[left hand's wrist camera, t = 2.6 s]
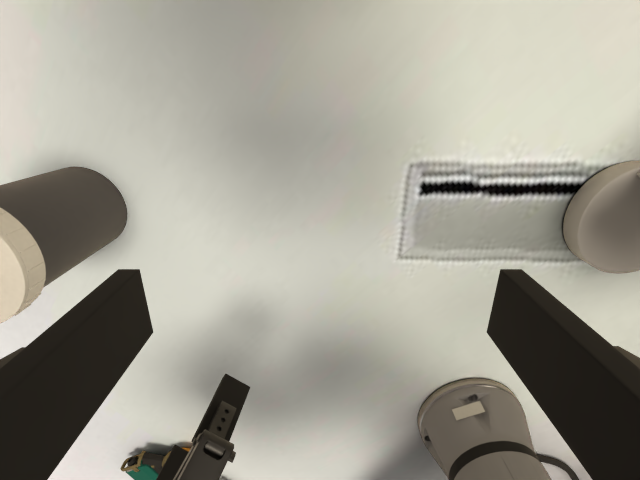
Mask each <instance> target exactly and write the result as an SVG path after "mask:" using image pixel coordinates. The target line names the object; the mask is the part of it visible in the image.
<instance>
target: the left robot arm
mask: <svg viewBox="0 0 640 480" xmlns="http://www.w3.org/2000/svg"><path fill="white" fill-rule="evenodd" d="M152 333H153V329H152V324H151V320H150V315H149V311H148V306H147V301H146V297H145V292H144V288H143V283H142V279H141V274H140V269H118V270H117V271H116V272H115V273H114V274H112V275H111V276H110V277H109V278H108V279H107V280H105V281H104V282H103V283H102V284H101V285H99V286H98V287H97V288H96V289H95V290H93V291H92V292H91V293H90V294H89V295H87V296H86V297H85V298H84V299H83V300H82V301H80V302H79V303H78V304H77V305H76V306H74V307H73V308H72V309H71V310H70V311H68V312H67V313H66V314H65V315H64V316H62V317H61V318H60V319H59V320H58V321H57V322H55V323H54V324H53V325H52V326H51V327H49V328H48V329H47V330H46V331H45V332H43V333H42V334H41V335H40V336H39V337H37V338H36V339H35V340H34V341H33V342H32V343H30V344H29V345H28V346H27V347H26V348H20V349H18V350H17V351H15V352H13V353H11V354H9V355H8V356H6V357H4V358H2V359H0V480H47V479H48V478H49V476H50V475H51V474H52V472H53V471H54V470H55V468H56V467H57V465H58V464H59V463H60V461H61V460H62V458H63V457H64V456H65V454H66V453H67V451H68V450H69V449H70V447H71V446H72V444H73V443H74V442H75V440H76V439H77V438H78V436H79V435H80V433H81V432H82V431H83V429H84V428H85V426H86V425H87V424H88V422H89V421H90V419H91V418H92V417H93V415H94V414H95V412H96V411H97V410H98V408H99V407H100V406H101V404H102V403H103V401H104V400H105V399H106V397H107V396H108V394H109V393H110V392H111V390H112V389H113V387H114V386H115V385H116V383H117V382H118V380H119V379H120V378H121V376H122V375H123V374H124V372H125V371H126V369H127V368H128V367H129V365H130V364H131V362H132V361H133V360H134V358H135V357H136V355H137V354H138V353H139V351H140V350H141V348H142V347H143V346H144V344H145V343H146V342H147V340H148V339H149V337H150V336H151V335H152ZM487 333H488V335H489V336H490V337H491V339H492V340H493V342H494V343H495V344H496V346H497V347H498V348H499V350H500V351H501V353H502V354H503V355H504V357H505V358H506V360H507V361H508V362H509V364H510V365H511V367H512V368H513V369H514V371H515V372H516V374H517V375H518V376H519V378H520V379H521V380H522V382H523V383H524V385H525V386H526V387H527V389H528V390H529V392H530V393H531V394H532V396H533V397H534V399H535V400H536V401H537V403H538V404H539V406H540V407H541V408H542V410H543V411H544V412H545V414H546V415H547V417H548V418H549V419H550V421H551V422H552V424H553V425H554V426H555V428H556V429H557V431H558V432H559V433H560V435H561V436H562V438H563V439H564V440H565V442H566V443H567V444H568V446H569V447H570V449H571V450H572V451H573V453H574V454H575V456H576V457H577V458H578V460H579V461H580V463H581V464H582V465H583V467H584V468H585V470H586V471H587V472H588V474H589V475H590V476H591V478H592V479H593V480H640V358H639V357H637V356H635V355H633V354H632V353H630V352H628V351H626V350H624V349H622V348H621V347H619V346H612V345H611V344H610V343H608V342H607V341H606V340H605V339H604V338H603V337H601V336H600V335H599V334H598V333H597V332H595V331H594V330H593V329H592V328H591V327H589V326H588V325H587V324H586V323H585V322H583V321H582V320H581V319H580V318H579V317H578V316H576V315H575V314H574V313H573V312H572V311H570V310H569V309H568V308H567V307H566V306H564V305H563V304H562V303H561V302H560V301H558V300H557V299H556V298H555V297H554V296H553V295H551V294H550V293H549V292H548V291H547V290H545V289H544V288H543V287H542V286H541V285H539V284H538V283H537V282H536V281H535V280H533V279H532V278H531V277H530V276H529V275H528V274H526V273H525V272H524V271H523V270H522V269H500V274H499V279H498V283H497V288H496V292H495V297H494V301H493V306H492V311H491V315H490V320H489V324H488V329H487Z"/></svg>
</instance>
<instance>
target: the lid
mask: <svg viewBox="0 0 640 480" xmlns="http://www.w3.org/2000/svg"><path fill="white" fill-rule="evenodd" d="M45 278H46V269H45V262H44V258H43V255H42V253H41V250H40V248H39V246H38V244H37V243H36V241H35V240H34V238H33V237H32V235H31V234H30V233H29V231H28V230H27V229H26V228H25V227H24V226H23V225H22V224H21V223H20V222H19V221H18V220H17V219H16V218H14V217H13V216H12V215H11V214H9V213H8V212H7V211H5V210H3V209H2V208H0V323H2V322H4V321H6V320H8V319H9V318H11V317H12V316H14V315H15V316H16V315H17V314H18V313H20V312H21V311H23V310H24V309H26V308H27V307H28V306H30V305H31V303H32V302H33V301H34V300H35V299H36V298H37V297H38V296H39V295H40V294H41V291H42V289H43V287H44V283H45V280H46V279H45Z"/></svg>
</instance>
